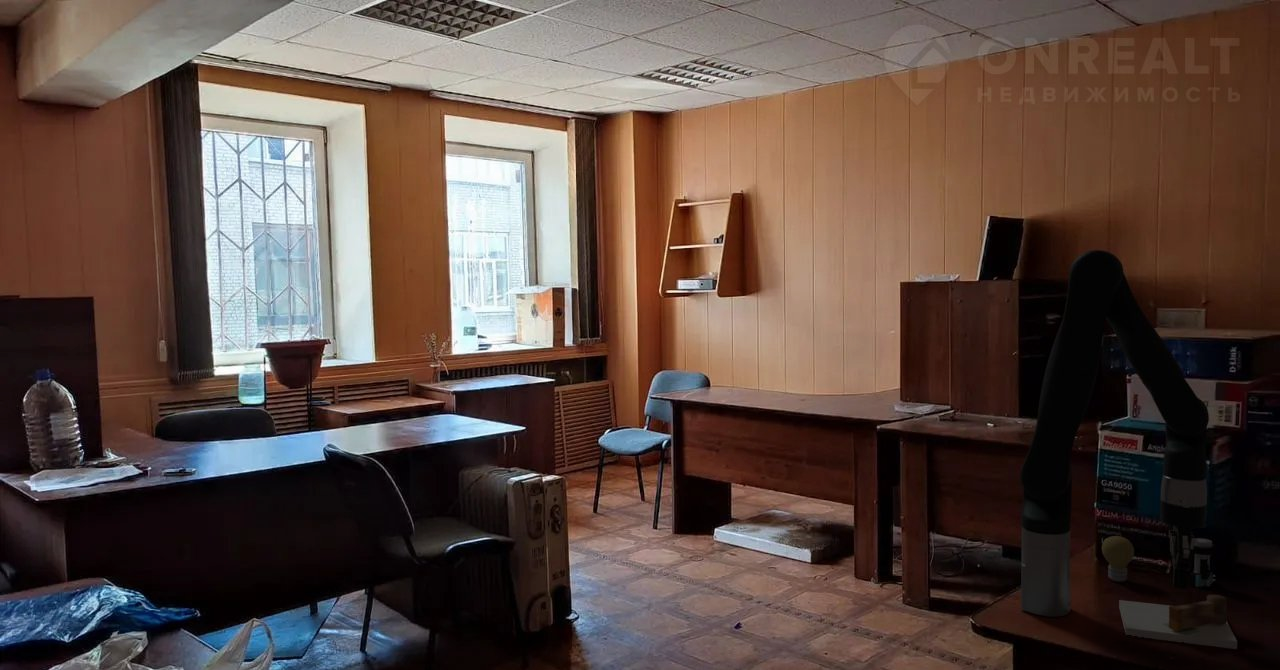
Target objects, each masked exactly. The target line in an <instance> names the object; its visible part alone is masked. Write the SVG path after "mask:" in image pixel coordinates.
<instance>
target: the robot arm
mask: <svg viewBox="0 0 1280 670" xmlns="http://www.w3.org/2000/svg"><path fill="white" fill-rule="evenodd" d="M1106 320H1107V322H1108V324H1109V325H1110V327H1111V329H1112V330H1113V332H1114V334H1115V336H1116V338H1117V341H1118V343H1119V345H1120V346H1121V349H1122V351H1123V352H1124V355H1125V357H1126V358H1127V360H1128V361H1129V363H1130V365H1131V366H1132V368H1133V370H1134V372H1135V373H1136V375H1137V376H1138V377H1139V380H1140V381H1141V382H1142V384H1143V385H1144V387H1145V389H1146V390H1147V391H1148V392H1149V394H1150V396H1151V397H1152V400H1153V402H1154V405H1156V408H1157V410H1158V412H1159V413H1160V415H1161V418H1162V419H1163V421H1164V422H1165V448H1164V455H1163V462H1162V463H1163V465H1162V466H1163V467H1162V469H1163V471H1162V473H1163V474H1162V480H1161V484H1160V504H1159V505H1160V507H1159V508H1160V509H1159V520H1160V521H1161V522H1162V523H1164V525H1168V526H1171V527H1172V529H1169V530H1168V538H1169V552H1170V558H1171V560H1172V561H1171V564H1172V567H1173V571H1172V572H1173V573H1172V584H1173V587H1174V588H1177V589H1187V588H1188V579H1189V572H1188V571H1191V570H1192V565H1193V561H1194V558H1195V555H1194V554H1195V551H1194V549H1193V547H1194V546H1195V538H1196V536H1195V535H1194V532H1193V531H1192V530H1193V529H1201V528H1204V527H1205V526H1206V522H1207V502H1208V501H1207V499H1208V490H1207V489H1208V487H1207V454H1206V453H1207V452H1206V441H1207V432H1208V424H1209V419H1210V416H1209V410H1208V407H1207V406H1206V404H1205V403H1204V401H1203V400H1202V399H1200V398H1199V397H1198V396H1197V395H1196V393H1195V391H1194V390H1193V389H1192V388H1191V386H1190V384H1189V382H1187V379H1186V378H1185V374H1184V372H1183V370H1182V368H1181V366H1180V364H1178V361H1177V360H1176V359H1175V357H1174V355H1173V354H1172V352H1171V351H1170V349H1169V348H1168V346H1167V345H1166V343H1165V341H1164V340H1163V339H1162V337H1161V336H1160V335H1159V333H1158V332H1157V330H1156V329H1155V328H1154V326H1153V325H1152V323H1151V322H1150V321H1149V319H1148V318H1147V316H1146V315H1145V313H1144V312H1143V310H1142V307H1140V305H1139V303H1138V302H1137V299H1136V298H1135V296H1134V294H1133V292H1132V290H1131V288H1130V285H1129V282H1128V280H1127V277H1126V275H1125V273H1124V267H1123V264H1122V261H1121V260H1120V259H1119V258H1118V257H1117V256H1116V255H1114V254H1113V253H1111V252H1109V251H1105V250H1102V249H1101V250H1099V249H1095V250H1089V251H1086V252H1084V253H1081V254H1080V255H1079V256H1077V257H1076V258H1075V260H1073V262H1072V263H1071V266H1070V268H1069V273H1068V282H1067V292H1066V299H1065V306H1064V311H1063V316H1062V319H1061V323H1060V326H1059V328H1058V330H1057V332H1056V336H1055V339H1054V341H1053V345H1052V347H1051V351H1050V354H1049V357H1048V361H1047V364H1046V368H1045V372H1044V375H1043V380H1042V385H1041V391H1040V396H1039V403H1038V410H1037V416H1036V417H1037V418H1036V425H1035V430H1034V433H1033V437H1032V440H1031V443H1030V446H1029V448H1028V452H1027V453H1026V457H1025V458H1024V462H1023V464H1022V465H1021V467H1020V471H1019V481H1020V483H1021V486H1022V497H1023V498H1022V508H1021V514H1020V515H1021V520H1020V521H1021V523H1020V525H1021V560H1020V561H1021V563H1020V564H1021V565H1020V574H1021V575H1020V580H1021V581H1020V582H1021V583H1020V586H1021V587H1020V589H1021V591H1020V594H1021V596H1020V599H1021V600H1020V607H1021V608H1020V610H1021V611H1023V612H1028V613H1030V614H1033V615H1037V616H1041V617H1052V618H1053V617H1054V618H1057V617H1064V616H1067V615H1068V614H1070V612H1071V521H1072V519H1071V518H1072V489H1073V488H1072V484H1073V482H1072V479H1073V476H1072V473H1073V472H1072V468H1071V467H1072V466H1071V461H1072V460H1071V458H1072V454H1073V453H1072V452H1073V446H1074V443H1075V439H1076V436H1077V432H1078V431H1079V429H1080V426H1081V424H1082V422H1083V419H1084V416H1085V415H1086V412H1087V410H1088V407H1089V405H1090V401H1091V399H1092V395H1093V392H1094V388H1095V385H1096V381H1097V376H1098V373H1099V368H1100V361H1101V356H1102V355H1101V353H1102V345H1103V332H1104V331H1103V330H1104V325H1105V321H1106Z"/></svg>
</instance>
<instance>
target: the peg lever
mask: <svg viewBox="0 0 1280 670" xmlns="http://www.w3.org/2000/svg"><path fill="white" fill-rule="evenodd" d="M1227 601H1228V600H1227V598H1226V597H1225V596H1223V595H1219V594H1207V595H1206V600H1202V601H1198V602H1192V603H1188V604H1180V605H1169V628H1170V629H1173V630H1175V631H1182V629H1187V628H1192V627H1198V626H1203V625H1208V624H1213V623H1215V624H1225V623H1226V621H1227V609H1228V608H1227V607H1228V604H1227V603H1228V602H1227Z"/></svg>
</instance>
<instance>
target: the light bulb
mask: <svg viewBox="0 0 1280 670" xmlns="http://www.w3.org/2000/svg"><path fill="white" fill-rule="evenodd" d="M1101 551H1102V552H1101V553H1102V555H1103V557H1104V559H1105V560H1106V561H1107V562H1108V563H1109V565H1108V571H1107V572H1108V574H1107V575H1108V576H1107V577H1108V578H1109V579H1110V580H1111V581H1113V582H1118V583H1122V582H1126V581H1127V579H1128V576H1127V575H1128V567H1127V566H1128V564H1130V562H1132V560H1133V558H1134V557H1135V556H1134V555H1135V548H1134V545H1133V543H1132V542H1131V541H1130V540H1129V539H1128V538H1125V537H1123V536H1119V535H1111V536H1109V537H1107V538H1105V539H1104V540H1103V542H1102V544H1101Z"/></svg>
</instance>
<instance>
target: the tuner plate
mask: <svg viewBox="0 0 1280 670" xmlns="http://www.w3.org/2000/svg"><path fill="white" fill-rule="evenodd" d="M1118 603H1119V604H1118V608H1119V612H1120V616H1121V620H1122V621H1121V622H1122V624H1123V628H1124V629H1125V630H1124V633H1126V634H1125V636H1126V635H1132V636H1131V637H1134V636H1137V638H1142V637H1144V638H1143V639H1150V638H1151V639H1152V640H1159V641H1166V640H1167V642H1168V641H1169V642H1174V641H1175V643H1182V642H1184V644H1191V645H1198V646H1208V647H1214V646H1215V648H1224V649H1230V650H1231V649H1232V650H1237V649H1238V640H1237V638H1236V636H1235V634H1234V633H1233V630H1232V629H1231V627H1230V624H1229V623H1228V621H1227V620H1226V623H1225V624H1215V623H1213V624H1208V625H1203V626H1198V627H1192V628H1187V629H1182V631H1175V630H1173V629H1170V628H1169V606H1170V605H1168V604H1167V605H1166V604H1160V603H1159V604H1158V603H1149V602H1142V601H1131V600H1123V599H1119V600H1118Z"/></svg>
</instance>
